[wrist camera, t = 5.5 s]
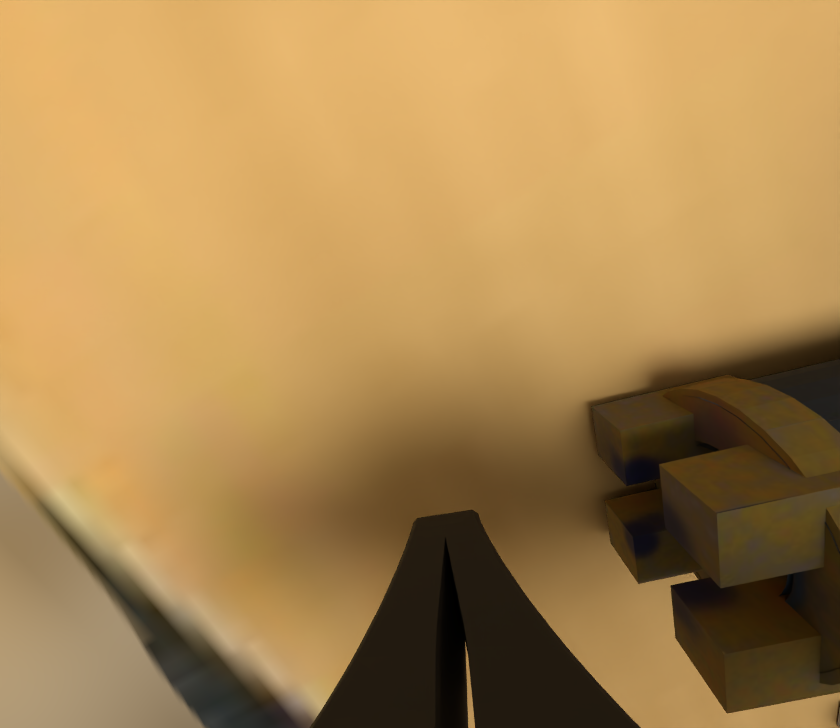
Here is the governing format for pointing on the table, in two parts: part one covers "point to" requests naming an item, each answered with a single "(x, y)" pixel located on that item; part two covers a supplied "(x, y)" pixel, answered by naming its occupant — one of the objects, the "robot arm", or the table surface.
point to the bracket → (838, 719)
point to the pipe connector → (738, 524)
